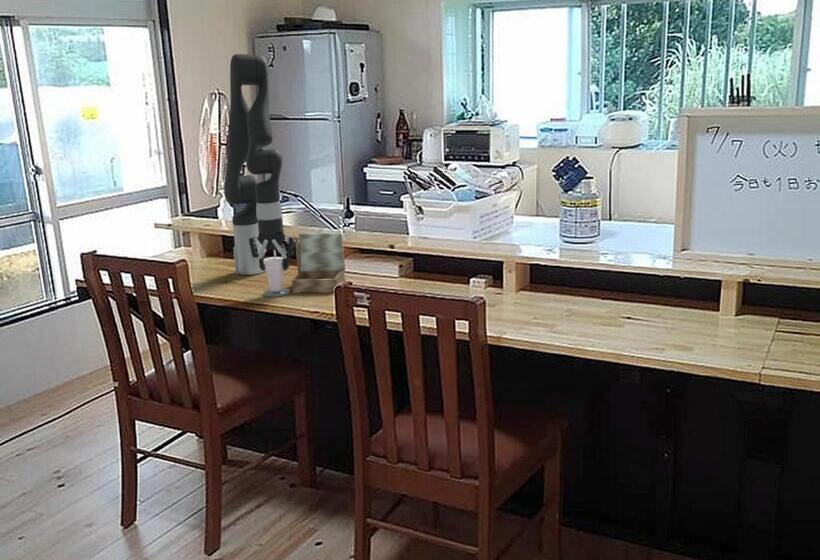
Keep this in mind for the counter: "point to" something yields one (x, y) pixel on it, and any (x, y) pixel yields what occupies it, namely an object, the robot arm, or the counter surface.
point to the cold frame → (319, 262)
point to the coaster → (276, 293)
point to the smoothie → (274, 272)
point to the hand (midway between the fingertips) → (274, 269)
